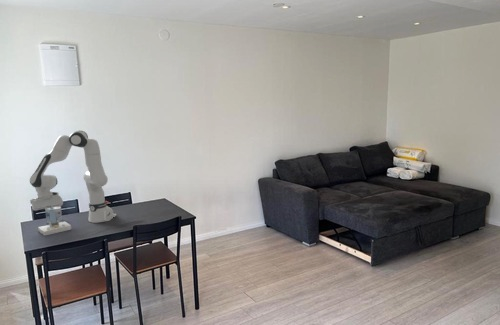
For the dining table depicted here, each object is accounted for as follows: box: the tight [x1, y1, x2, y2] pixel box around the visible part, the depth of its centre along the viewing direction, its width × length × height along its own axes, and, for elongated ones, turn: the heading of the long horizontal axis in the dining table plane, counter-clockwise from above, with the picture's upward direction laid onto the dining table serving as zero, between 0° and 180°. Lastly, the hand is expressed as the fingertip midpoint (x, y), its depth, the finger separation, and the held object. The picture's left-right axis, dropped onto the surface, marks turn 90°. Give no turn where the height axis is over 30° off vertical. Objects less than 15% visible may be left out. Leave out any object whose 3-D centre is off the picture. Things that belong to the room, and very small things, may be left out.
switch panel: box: [37, 220, 72, 236], centre depth 261 cm, size 13×18×6 cm
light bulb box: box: [45, 206, 63, 225], centre depth 280 cm, size 11×7×11 cm, turn 122°
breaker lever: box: [49, 211, 57, 226], centre depth 262 cm, size 2×3×11 cm
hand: (50, 212), depth 265 cm, fingers closed
